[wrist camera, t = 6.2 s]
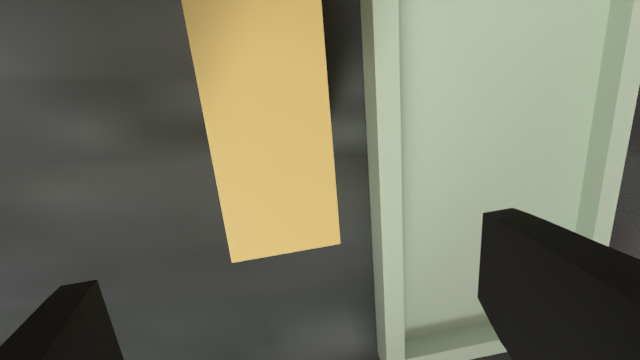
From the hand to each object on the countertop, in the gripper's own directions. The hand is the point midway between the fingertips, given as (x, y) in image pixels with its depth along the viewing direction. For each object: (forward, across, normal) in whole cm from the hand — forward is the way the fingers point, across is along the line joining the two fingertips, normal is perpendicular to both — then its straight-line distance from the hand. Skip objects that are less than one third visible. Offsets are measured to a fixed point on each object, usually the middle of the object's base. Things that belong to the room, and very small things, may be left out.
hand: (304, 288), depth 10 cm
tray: (+9, -8, +2) cm, 13 cm away
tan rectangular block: (+10, 0, -4) cm, 10 cm away
